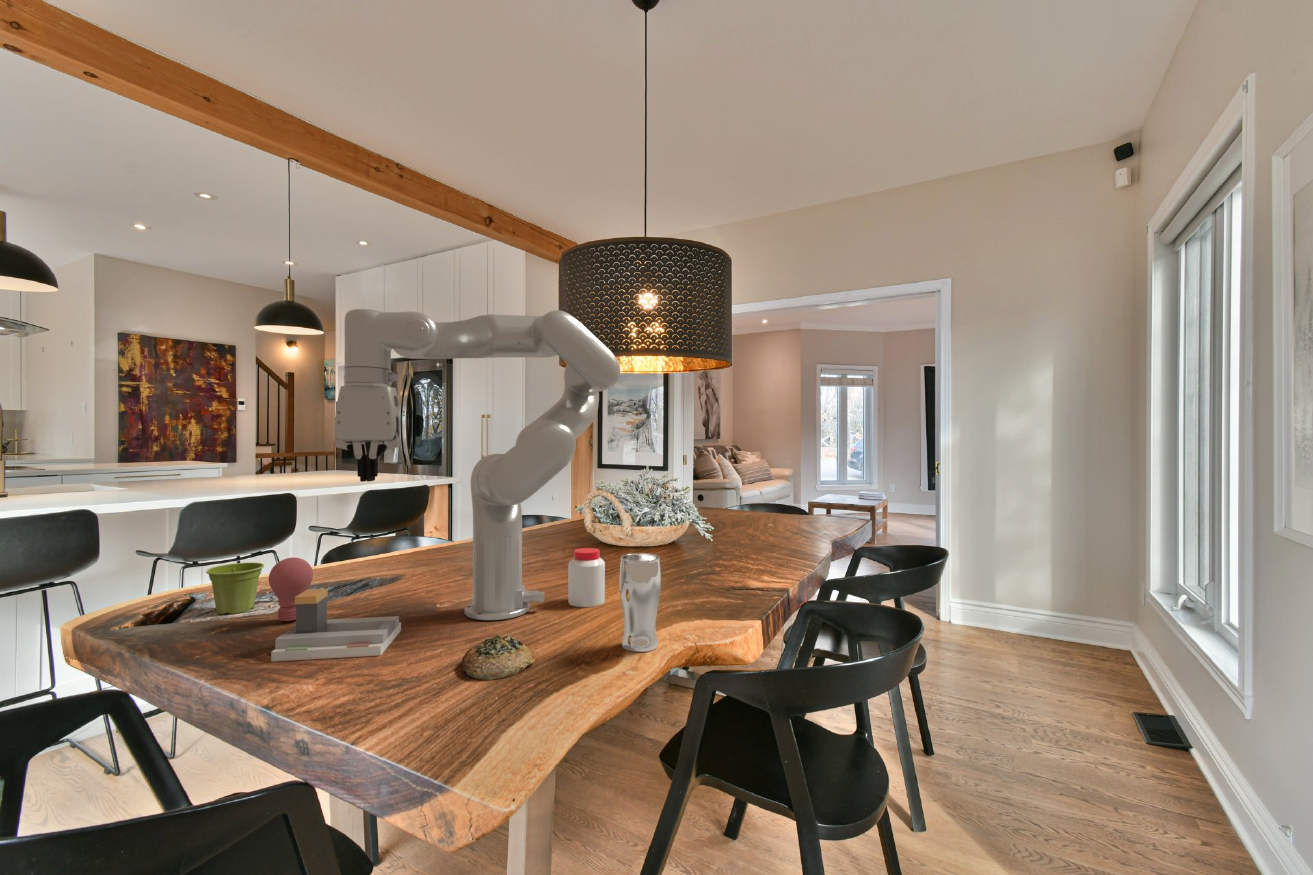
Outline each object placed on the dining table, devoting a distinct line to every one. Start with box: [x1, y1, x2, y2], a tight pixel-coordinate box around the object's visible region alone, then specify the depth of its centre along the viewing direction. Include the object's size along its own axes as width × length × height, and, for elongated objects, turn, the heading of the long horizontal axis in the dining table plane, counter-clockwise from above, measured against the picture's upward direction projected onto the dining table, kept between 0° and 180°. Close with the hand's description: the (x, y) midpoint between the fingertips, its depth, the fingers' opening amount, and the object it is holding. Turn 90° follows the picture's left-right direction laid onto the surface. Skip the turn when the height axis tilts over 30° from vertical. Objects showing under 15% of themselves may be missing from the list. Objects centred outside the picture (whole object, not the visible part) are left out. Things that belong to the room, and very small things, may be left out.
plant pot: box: [205, 561, 265, 615], centre depth 116 cm, size 9×9×9 cm
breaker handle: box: [295, 588, 329, 634], centre depth 96 cm, size 3×5×7 cm
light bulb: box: [268, 557, 314, 622], centre depth 109 cm, size 7×7×12 cm
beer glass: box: [618, 552, 662, 653], centre depth 97 cm, size 7×7×15 cm
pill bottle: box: [567, 547, 606, 608], centre depth 123 cm, size 8×8×11 cm
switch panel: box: [270, 615, 402, 662], centre depth 97 cm, size 16×12×3 cm
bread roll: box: [461, 634, 536, 681], centre depth 89 cm, size 11×11×5 cm
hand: (367, 480), depth 104 cm, fingers closed
